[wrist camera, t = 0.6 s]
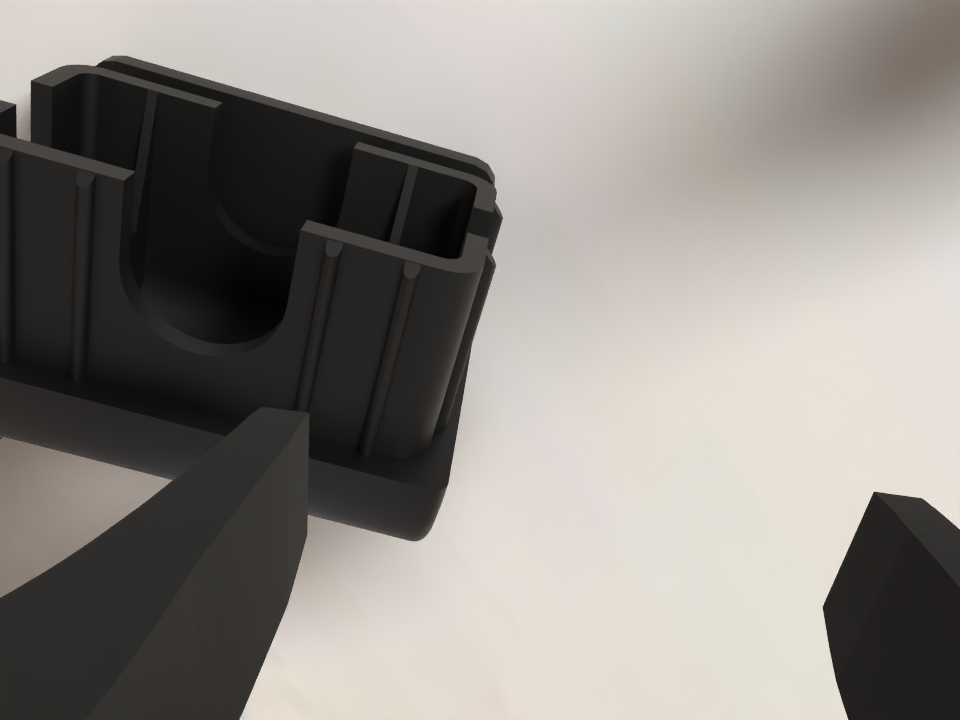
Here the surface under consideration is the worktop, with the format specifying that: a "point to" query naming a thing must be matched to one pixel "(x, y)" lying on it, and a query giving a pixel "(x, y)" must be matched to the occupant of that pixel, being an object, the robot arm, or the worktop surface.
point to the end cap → (238, 284)
